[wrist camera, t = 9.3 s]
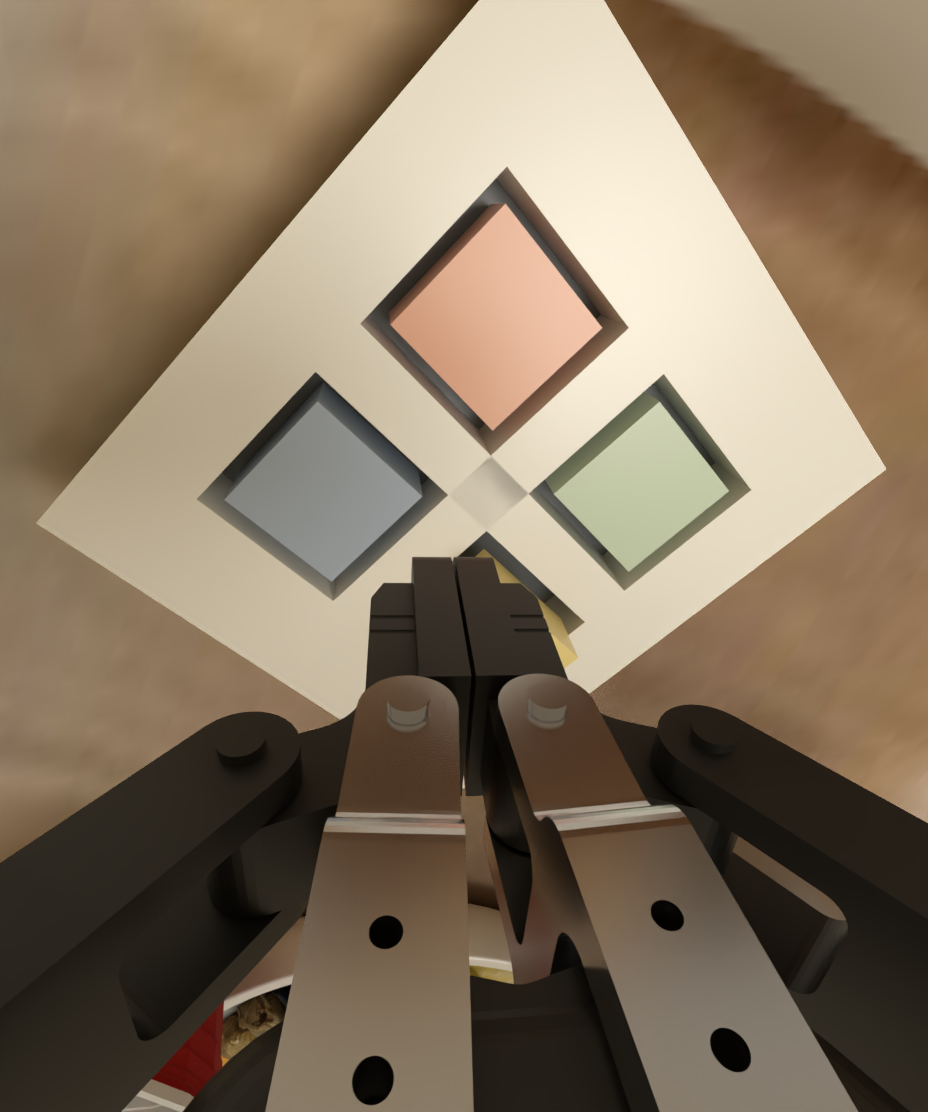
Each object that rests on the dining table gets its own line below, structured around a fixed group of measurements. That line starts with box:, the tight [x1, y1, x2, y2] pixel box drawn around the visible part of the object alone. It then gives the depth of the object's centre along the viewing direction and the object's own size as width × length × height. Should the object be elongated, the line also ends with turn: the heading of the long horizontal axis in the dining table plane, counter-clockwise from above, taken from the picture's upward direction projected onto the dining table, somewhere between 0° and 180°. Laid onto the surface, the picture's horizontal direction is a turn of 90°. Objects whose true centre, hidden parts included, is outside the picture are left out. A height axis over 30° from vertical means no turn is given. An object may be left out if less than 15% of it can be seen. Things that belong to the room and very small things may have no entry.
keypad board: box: [36, 0, 886, 789], centre depth 23 cm, size 19×21×4 cm
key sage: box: [545, 391, 729, 572], centre depth 23 cm, size 4×4×2 cm
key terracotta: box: [389, 204, 602, 431], centre depth 19 cm, size 4×4×2 cm
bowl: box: [221, 904, 514, 1067], centre depth 40 cm, size 30×30×8 cm
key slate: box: [224, 382, 423, 582], centre depth 21 cm, size 4×4×2 cm
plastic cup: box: [122, 1001, 224, 1112], centre depth 29 cm, size 11×11×12 cm
